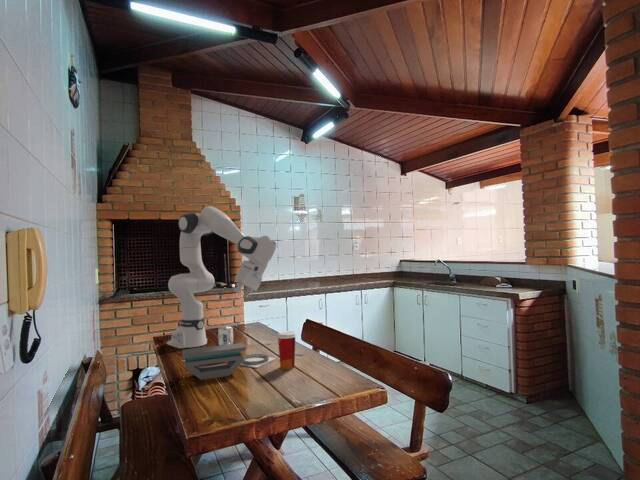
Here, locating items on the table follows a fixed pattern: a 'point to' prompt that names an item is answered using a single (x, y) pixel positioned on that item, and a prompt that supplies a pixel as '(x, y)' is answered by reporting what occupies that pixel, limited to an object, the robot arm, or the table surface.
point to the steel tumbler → (225, 335)
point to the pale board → (258, 360)
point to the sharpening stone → (213, 360)
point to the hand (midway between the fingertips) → (241, 295)
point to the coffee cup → (286, 349)
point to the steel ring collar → (255, 361)
